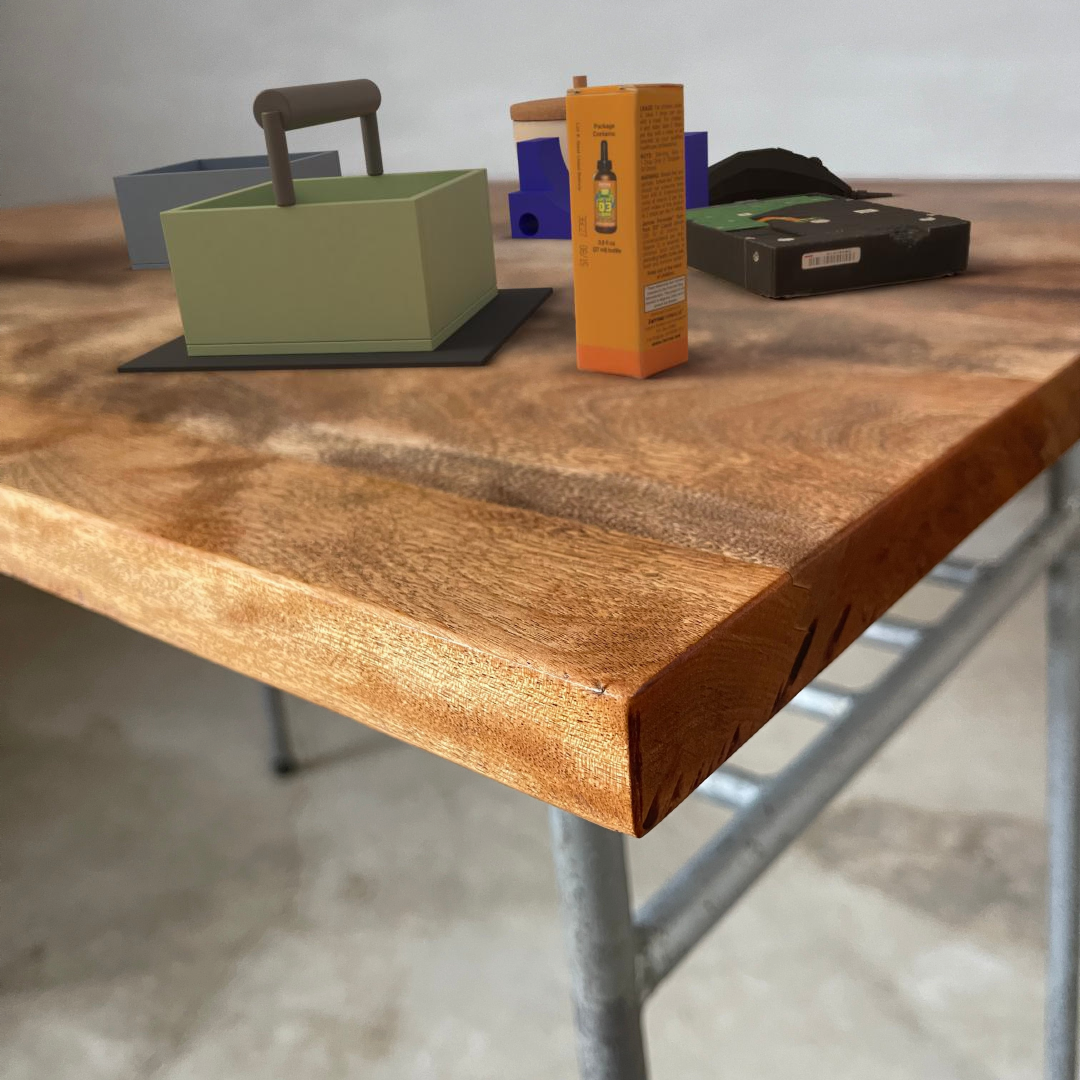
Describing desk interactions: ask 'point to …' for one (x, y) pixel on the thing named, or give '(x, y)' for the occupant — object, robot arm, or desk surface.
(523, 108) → the trinket box
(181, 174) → the box
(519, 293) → the mat
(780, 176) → the gaming mouse
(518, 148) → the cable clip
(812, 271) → the disk drive
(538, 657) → the desk surface
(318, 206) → the top basket
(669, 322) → the supplement box
